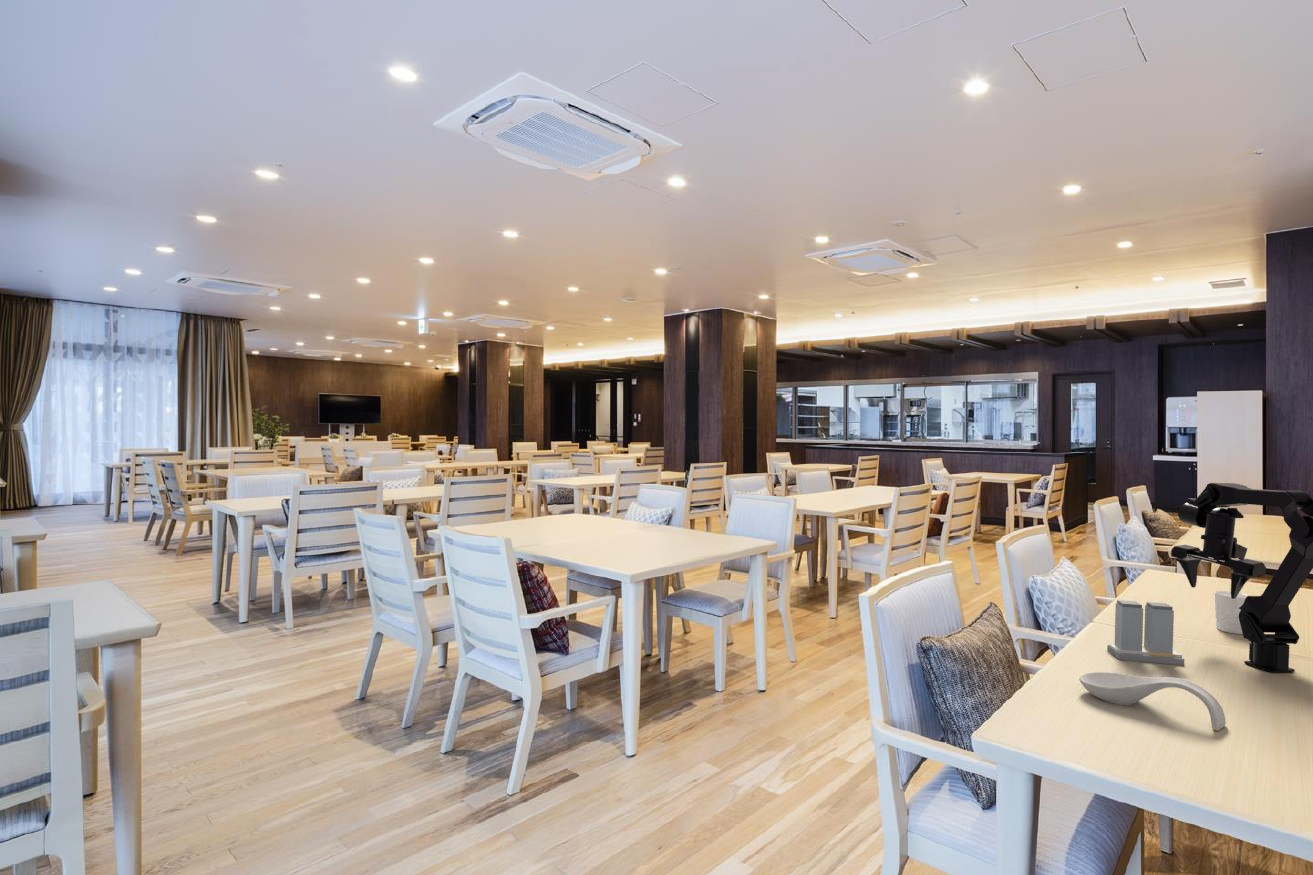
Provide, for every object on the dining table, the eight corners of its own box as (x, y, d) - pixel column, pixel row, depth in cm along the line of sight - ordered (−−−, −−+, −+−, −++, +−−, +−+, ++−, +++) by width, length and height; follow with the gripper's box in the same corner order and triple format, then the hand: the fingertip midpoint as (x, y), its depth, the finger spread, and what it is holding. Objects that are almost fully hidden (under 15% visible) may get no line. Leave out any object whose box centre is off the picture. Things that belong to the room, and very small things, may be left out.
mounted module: (1135, 646, 170) (1136, 601, 169) (1142, 651, 166) (1143, 605, 166) (1114, 644, 171) (1115, 599, 171) (1121, 649, 167) (1122, 603, 167)
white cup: (1258, 635, 188) (1260, 598, 188) (1229, 634, 188) (1230, 597, 188) (1235, 626, 196) (1236, 591, 195) (1206, 626, 196) (1207, 590, 196)
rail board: (1170, 655, 169) (1170, 647, 169) (1184, 665, 162) (1184, 656, 162) (1107, 650, 172) (1107, 642, 172) (1118, 659, 166) (1118, 651, 166)
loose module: (1164, 648, 168) (1166, 603, 168) (1172, 653, 164) (1173, 607, 164) (1143, 646, 169) (1145, 601, 169) (1151, 652, 165) (1152, 605, 165)
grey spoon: (1069, 696, 143) (1070, 661, 143) (1092, 684, 150) (1093, 650, 150) (1213, 738, 124) (1214, 698, 124) (1232, 722, 131) (1233, 684, 131)
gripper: (1282, 538, 170) (1275, 601, 172) (1199, 522, 187) (1193, 578, 189) (1254, 542, 166) (1247, 606, 168) (1172, 525, 183) (1166, 583, 185)
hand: (1212, 592), depth 177 cm, fingers open, 9 cm apart
